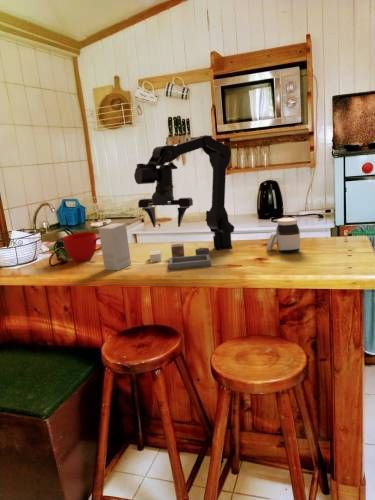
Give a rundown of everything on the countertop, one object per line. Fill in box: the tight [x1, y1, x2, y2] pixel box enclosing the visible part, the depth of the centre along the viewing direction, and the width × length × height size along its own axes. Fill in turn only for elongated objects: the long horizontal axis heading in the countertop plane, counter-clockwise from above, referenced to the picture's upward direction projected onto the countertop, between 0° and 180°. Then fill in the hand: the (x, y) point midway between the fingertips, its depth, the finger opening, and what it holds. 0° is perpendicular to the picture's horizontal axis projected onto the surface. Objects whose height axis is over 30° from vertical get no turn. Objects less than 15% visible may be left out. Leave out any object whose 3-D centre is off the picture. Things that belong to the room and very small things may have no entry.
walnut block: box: [170, 243, 185, 258], centre depth 150 cm, size 4×4×5 cm
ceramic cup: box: [62, 231, 102, 263], centre depth 161 cm, size 13×17×10 cm
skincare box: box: [98, 222, 132, 271], centre depth 144 cm, size 8×7×16 cm
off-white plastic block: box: [149, 250, 162, 263], centre depth 151 cm, size 4×6×3 cm, turn 2°
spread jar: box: [266, 217, 301, 255], centre depth 144 cm, size 12×11×12 cm
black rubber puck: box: [195, 247, 211, 258], centre depth 148 cm, size 5×5×3 cm
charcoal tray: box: [168, 253, 212, 271], centre depth 140 cm, size 14×9×2 cm, turn 91°
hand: (166, 226), depth 144 cm, fingers open, 9 cm apart
